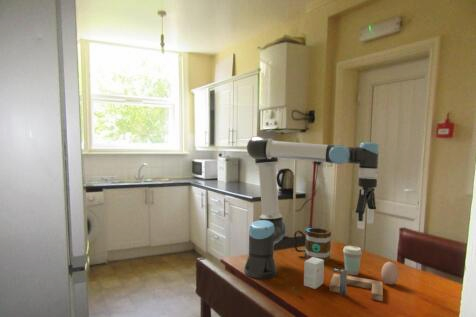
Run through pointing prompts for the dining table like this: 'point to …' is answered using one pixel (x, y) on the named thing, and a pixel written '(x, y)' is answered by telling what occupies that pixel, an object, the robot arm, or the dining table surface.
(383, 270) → the egg
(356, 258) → the coffee cup
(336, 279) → the tan arch frame
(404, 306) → the dining table surface
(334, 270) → the hook post
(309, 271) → the small box
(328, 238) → the mug
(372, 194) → the robot arm
